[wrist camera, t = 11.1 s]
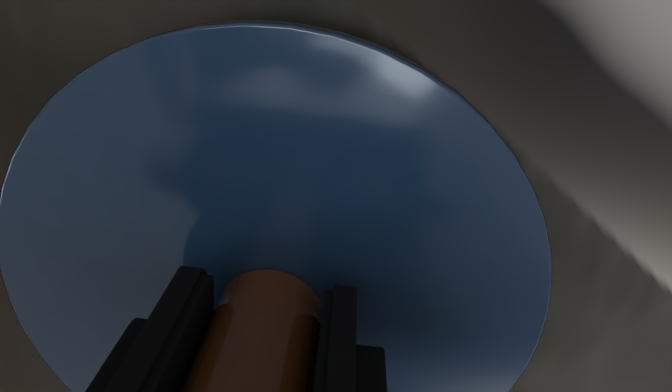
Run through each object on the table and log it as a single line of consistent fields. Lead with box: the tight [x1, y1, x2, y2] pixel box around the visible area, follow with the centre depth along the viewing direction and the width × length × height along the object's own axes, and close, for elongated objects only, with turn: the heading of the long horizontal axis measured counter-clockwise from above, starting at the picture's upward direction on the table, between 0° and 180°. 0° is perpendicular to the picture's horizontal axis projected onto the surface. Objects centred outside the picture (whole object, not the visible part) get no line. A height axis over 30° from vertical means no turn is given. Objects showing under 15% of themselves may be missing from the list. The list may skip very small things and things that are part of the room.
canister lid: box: [0, 19, 552, 392], centre depth 10 cm, size 14×14×6 cm
